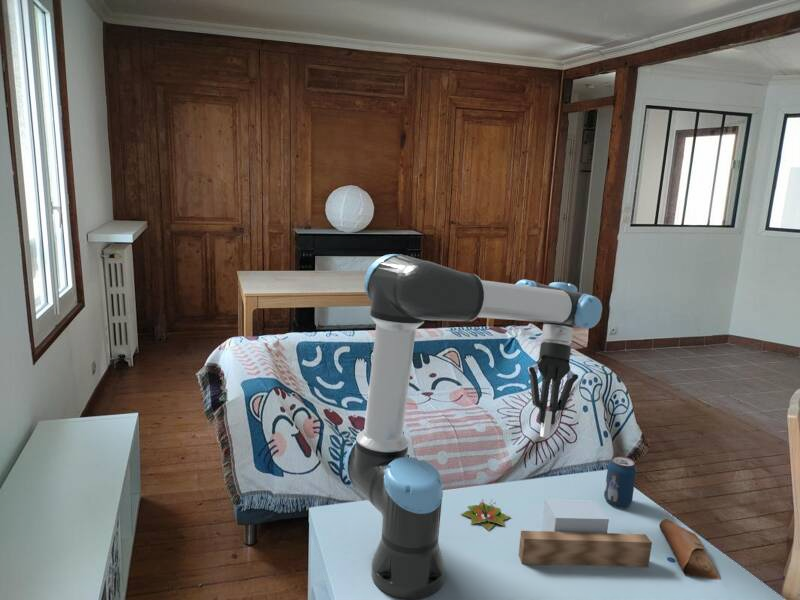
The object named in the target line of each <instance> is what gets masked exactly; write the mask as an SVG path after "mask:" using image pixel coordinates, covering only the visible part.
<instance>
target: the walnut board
mask: <svg viewBox="0 0 800 600" xmlns="http://www.w3.org/2000/svg"><path fill="white" fill-rule="evenodd" d="M652 546H653V542H652V540H651V538H649V536H647V534H644V533H611V532H607V533H585V532H552V531H542V530H521V531H520V536H519V546H518V557H519V560H520V564H522V565H523V564H525V565H554V566H555V565H557V566H558V565H559V566H560V565H561V566H592V567H594V566H595V567H597V566H598V567H624V568H625V567H631V568H633V567H634V568H649V564H650V559H651V551H652Z"/></svg>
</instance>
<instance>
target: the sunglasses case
mask: <svg viewBox="0 0 800 600" xmlns="http://www.w3.org/2000/svg"><path fill="white" fill-rule="evenodd" d="M659 530H660V531H661V533H662V535H663V537H664V538H665V540H666V542H667V544H668V546H669V548H670V550H671V552H672V554H673V555H674V557H675V559H676V561H677V564H678V566H679V568H680V570H681V572H682V573H683V575H684V576H685V577H692V578H693V577H695V578H703V579H712V580H717V581H718V580H720V581H721V577H720V575H719V572H718V570H717V568H716V567H715V564H714V563H713V562H712V561H713V560H712V559H711V558H710V556H709V555H708V553H707V552H706V551H707V550H706V549H705V547H704V545H703V544H702V542H701V541H700V539H699V537H698V535H697V534H696V533H695V532H692V531H690V530H688V529H686V528H685V527H682V526H681V525H679V524H678V523H676V522H674V521H673V520H671V519H669V518H664V519H662V520H661V521H660V523H659Z"/></svg>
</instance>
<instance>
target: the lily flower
mask: <svg viewBox="0 0 800 600" xmlns="http://www.w3.org/2000/svg"><path fill="white" fill-rule="evenodd" d="M492 501H493V498H492V499H491V501H490V502H489V503H488V504H487V503H485V501H484V500H483V499H481V500H480V501H479V504H475V505H467V507H468V508H469V510H467V511H464V512H463V513H461V515H463V516H465V517H468V518H470V522H471V523H470V525H474V524H478V523H480V524H481V526H483V527H484V528H485V529H487V530H488V531H490V530H492V528H493V527H494V526H495V523H496V524H498V525H500V526H503V527H506V525H505V523H504V520H507V519H511V518H512V517H511V516H509V515H506V513H503V512H500V511H501V509H500V507H497V506H494V505H495V504H497V502H494V503H493V502H492ZM491 502H492V503H491ZM476 514H477V515H476ZM481 515H483V516H481ZM487 516H489V518H487ZM483 517H484V518H483ZM487 522H488V523H487Z"/></svg>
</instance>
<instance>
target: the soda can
mask: <svg viewBox="0 0 800 600" xmlns="http://www.w3.org/2000/svg"><path fill="white" fill-rule="evenodd" d="M610 458H611V459H610V461H609V462H608V463H607V471H606V478H605V485H604V493H603V496H604V499H605V502H606V503H607V504H608V505H610V506H611V507H614V508H616V509H627V508H628V507H629V506H630V505H631V504H632V503H633V498H634V497H633V495H634V490H635V483H636V475H637V466H636V465H635V464H636V463H635V460H633V459H632V458H630V457H627V456H623V455H614V456H612V457H610Z"/></svg>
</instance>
